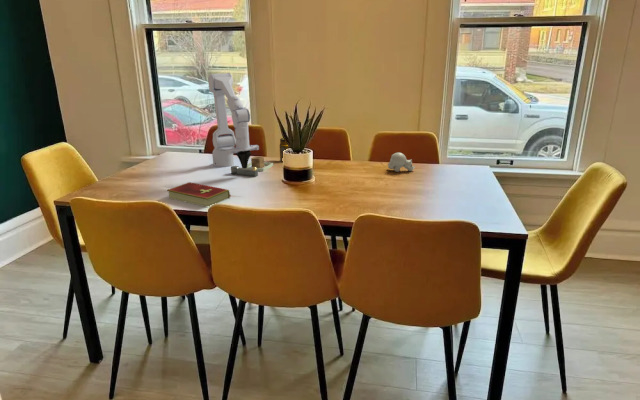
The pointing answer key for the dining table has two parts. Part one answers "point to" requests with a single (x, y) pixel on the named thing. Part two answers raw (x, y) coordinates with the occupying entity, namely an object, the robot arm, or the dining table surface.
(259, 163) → the block
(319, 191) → the dining table surface
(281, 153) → the condiment
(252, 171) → the crank
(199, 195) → the hardcover book
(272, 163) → the tray
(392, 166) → the toy rhinoceros
